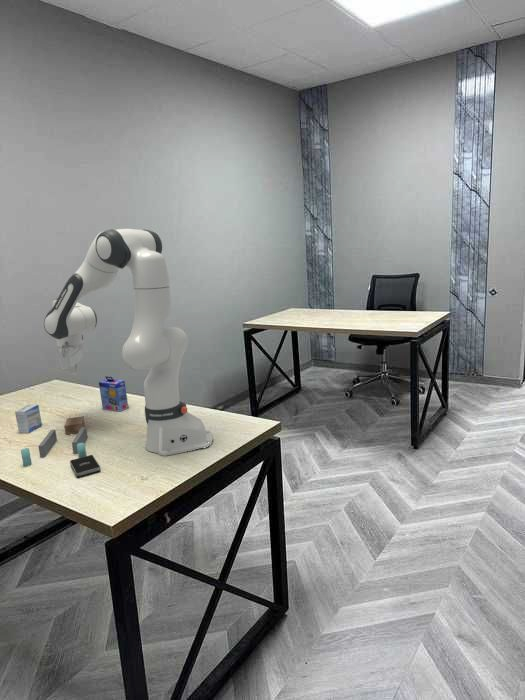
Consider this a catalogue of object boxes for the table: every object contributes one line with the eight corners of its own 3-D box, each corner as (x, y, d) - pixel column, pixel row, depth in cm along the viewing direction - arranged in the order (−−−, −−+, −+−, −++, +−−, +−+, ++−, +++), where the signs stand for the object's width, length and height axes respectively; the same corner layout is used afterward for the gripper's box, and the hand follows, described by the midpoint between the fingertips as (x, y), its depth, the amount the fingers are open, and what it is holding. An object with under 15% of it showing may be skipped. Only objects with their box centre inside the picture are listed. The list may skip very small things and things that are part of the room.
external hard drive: (93, 460, 154) (92, 454, 154) (101, 473, 145) (100, 467, 144) (70, 466, 151) (69, 460, 150) (77, 480, 141) (76, 474, 141)
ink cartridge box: (101, 409, 201) (97, 376, 198) (111, 405, 206) (106, 372, 202) (119, 412, 196) (115, 378, 193) (129, 407, 201) (124, 374, 198)
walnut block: (85, 426, 184) (83, 416, 183) (83, 433, 176) (81, 423, 175) (68, 428, 183) (67, 418, 182) (65, 436, 175) (64, 425, 174)
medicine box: (28, 433, 179) (25, 411, 177) (18, 433, 180) (14, 411, 178) (42, 425, 186) (38, 404, 185) (32, 425, 187) (28, 404, 185)
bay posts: (87, 456, 156) (85, 442, 155) (85, 459, 154) (83, 445, 153) (24, 463, 154) (22, 448, 153) (22, 466, 151) (19, 451, 150)
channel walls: (87, 436, 172) (86, 426, 171) (78, 453, 159) (76, 442, 158) (52, 440, 171) (51, 429, 170) (40, 457, 157) (38, 446, 157)
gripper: (70, 344, 171) (76, 382, 174) (83, 334, 191) (88, 367, 194) (52, 346, 170) (58, 383, 173) (67, 335, 190) (72, 369, 193)
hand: (74, 375), depth 184 cm, fingers closed
